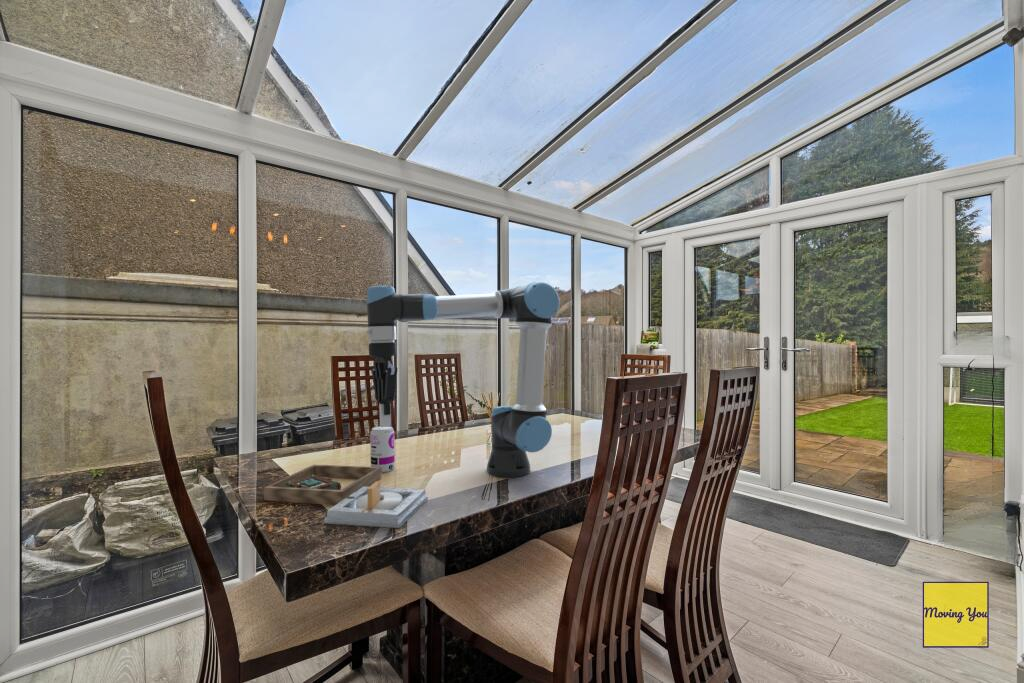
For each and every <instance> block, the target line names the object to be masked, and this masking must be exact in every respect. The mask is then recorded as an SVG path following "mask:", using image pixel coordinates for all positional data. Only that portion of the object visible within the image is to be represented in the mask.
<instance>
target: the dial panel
mask: <svg viewBox="0 0 1024 683" xmlns="http://www.w3.org/2000/svg"><path fill="white" fill-rule="evenodd" d="M368 488H369V487H362V488H361V489H359V490H358V491H356V492H354V493H353V494H351V495H350V496H348V497H347V498H345V499H344V500H342V501H341V502H339V503H338V504H336V505H332V507H330V508H329V509H328V510H327V512H326V513H327V514H326V517H325V518H324V520H323V521H324V524H329V525H346V526H360V527H361V526H362V527H377V528H379V527H380V528H391V529H393V528H394V529H400V528H401V527H402V526H403V525H404V524H405V523H406V522H407V521H408V520H409V519H410V518H412V516H414V514H415V513H416V512H418V510H419V509H420V508H421V507H422V506H424V504H425V503H426V502H427V501H428V497H429V495H426V488H425V489H424V488H423V489H422V488H421V489H420V488H406V487H404V488H402V487H382V486H380V492H394V493H398V494H400V495H401V496H402V503H401V504H400V505H398V506H397V507H396V508H395V509H394V510H378V509H368V508H365V509H361V508H356V500H357V499H358V498H360V497H362V496H364V495H367V494H368V490H367V489H368Z"/></svg>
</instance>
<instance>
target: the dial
mask: <svg viewBox="0 0 1024 683" xmlns="http://www.w3.org/2000/svg"><path fill="white" fill-rule="evenodd" d="M380 487H381V480H379V481H376V482H375V483H374V484H372V485H371V486H370V487H369V488H368V489H367V490H368V494H367V495H364V496H362V497H360V498H358V499H357V500H356V508H361V509H365V508H368V509H378V510H394V509H395V508H396V507H397V506H398V505H400V504H401V503H402V496H401V495H400V494H398V493H394V492H380Z"/></svg>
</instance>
